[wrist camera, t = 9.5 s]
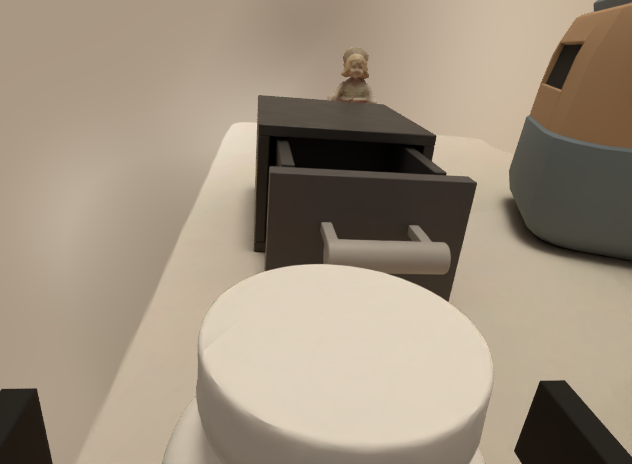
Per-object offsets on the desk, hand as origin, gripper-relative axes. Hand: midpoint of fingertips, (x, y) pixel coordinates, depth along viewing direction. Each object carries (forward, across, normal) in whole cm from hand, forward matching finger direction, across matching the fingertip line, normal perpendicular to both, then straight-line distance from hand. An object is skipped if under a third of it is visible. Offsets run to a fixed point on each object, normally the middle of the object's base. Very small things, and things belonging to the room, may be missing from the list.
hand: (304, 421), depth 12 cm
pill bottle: (-3, 0, -6) cm, 7 cm away
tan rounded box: (+28, +32, -6) cm, 43 cm away
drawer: (+18, +5, -5) cm, 19 cm away
